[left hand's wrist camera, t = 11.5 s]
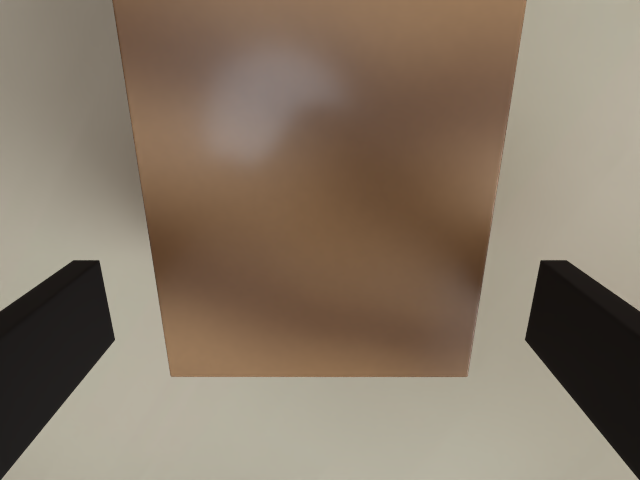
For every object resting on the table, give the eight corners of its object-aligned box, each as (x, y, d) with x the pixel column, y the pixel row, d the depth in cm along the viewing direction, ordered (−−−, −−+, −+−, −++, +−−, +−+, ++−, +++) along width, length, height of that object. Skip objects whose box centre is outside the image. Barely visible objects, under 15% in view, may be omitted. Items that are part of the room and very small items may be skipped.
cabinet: (186, -193, 17) (30, -515, 8) (452, -192, 17) (608, -513, 8) (226, 265, 24) (169, 377, 15) (411, 265, 24) (468, 377, 15)
